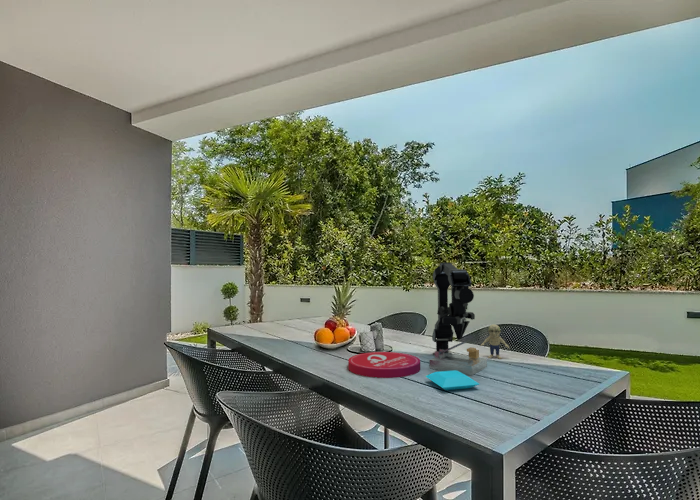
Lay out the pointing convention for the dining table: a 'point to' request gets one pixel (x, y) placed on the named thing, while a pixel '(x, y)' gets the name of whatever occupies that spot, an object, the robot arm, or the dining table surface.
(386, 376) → the sign
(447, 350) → the strap
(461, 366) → the grey piece
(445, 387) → the prism
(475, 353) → the tab
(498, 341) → the toy
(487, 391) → the dining table surface
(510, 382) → the dining table surface
